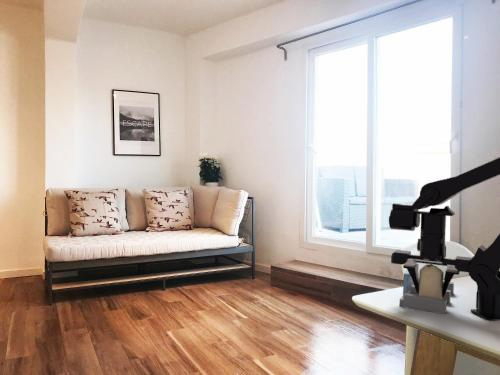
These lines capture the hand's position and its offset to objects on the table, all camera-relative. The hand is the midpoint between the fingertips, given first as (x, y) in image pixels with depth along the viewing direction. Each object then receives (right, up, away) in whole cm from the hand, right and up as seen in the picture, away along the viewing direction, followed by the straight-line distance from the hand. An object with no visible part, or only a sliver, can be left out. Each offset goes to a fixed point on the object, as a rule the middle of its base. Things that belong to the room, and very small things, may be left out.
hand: (430, 294), depth 107 cm
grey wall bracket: (+1, -2, +5) cm, 6 cm away
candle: (0, -3, 0) cm, 3 cm away
